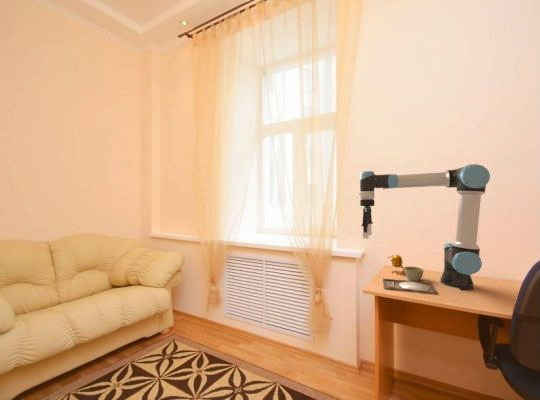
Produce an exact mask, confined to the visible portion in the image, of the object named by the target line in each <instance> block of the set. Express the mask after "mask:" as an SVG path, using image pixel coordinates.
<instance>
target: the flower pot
mask: <svg viewBox="0 0 540 400" xmlns="http://www.w3.org/2000/svg"><path fill="white" fill-rule="evenodd" d="M403 267H404V266H403ZM404 271H405V274H406V275H405V276H406V278H407V281H417V282H420V280H421V279H422V277H423V275H424V269H423V268H421V267H418V266H417V267H416V266H405V267H404Z"/></svg>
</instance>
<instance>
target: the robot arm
mask: <svg viewBox="0 0 540 400" xmlns="http://www.w3.org/2000/svg"><path fill="white" fill-rule="evenodd" d="M359 174H360V175H359V183H360V184H359V192H360V193H358V195H359V196H360V197H359V198H360V200H359V204H360V205H359V206H361V207H362V209H363V210H362V211H363V212H362V224H361V227H362V239H367V240H368V239H369V236H372V228H373V227H372V224H374V223H373V220H372V207H374V206H375V189H382V190H387V189H402V188H403V189H405V188H406V189H407V188H408V189H409V188H427V187H429V188H430V187H445V188H456V193H458V194H459V200H458V210H457V211H458V213H457V221H456V222H457V223H456V234H455V241H454V242H453V243H451V242H450V243H449V242H447V243H444V247H443V249H444V251H443V252H444V253H443V254H444V255H443V256H444V257H443V258H444V259H443V261H444V262H443V265H444V266H443V267H444V268H443V272H442V274H441V276H440V281H439V282H440V283H441V284H442V285H445V286H447V287H450V288H456V289H459V290H468V291H469V290H473V289H474V286H475V285H474V281H473V279H472V276H471V275H474V274H476V273H479V271H480V270H481V269H482V265H483V262H482V259H481V257H480V253H481V251H480V250H481V247H479V245H478V244H477V241H478V233H479V219H480V211H481V209H480V208H481V201H482V200H481V199H482V195H484V194H486V188H487V187H486V186H487V184H488V183H489V182H490V179H491V173H490V171H489V170H488V168H486V167H485V166H484V165H481V164H468V165H465V166H463V167H459V168H455V169H447V170H445V171H443V172H430V173H429V172H428V173H425V172H424V173H412V174H394V173H389V174H388V173H387V174H375V172H374V171H370V170H367V171H366V170H365V171H361V172H360V173H359Z"/></svg>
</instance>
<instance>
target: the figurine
mask: <svg viewBox="0 0 540 400" xmlns="http://www.w3.org/2000/svg"><path fill="white" fill-rule="evenodd" d="M390 258H392V259H390ZM387 259H390V262H391V266H393V267H394V268H401V269H402V271H401V270H400V271H399V270H392V271H391V274H392V275H396V276H397V275H399V276H406V274H405V270H404V266H403V259H402V256H401V255H399V254H391V255H390V256H388V257H387Z"/></svg>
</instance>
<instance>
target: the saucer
mask: <svg viewBox="0 0 540 400" xmlns="http://www.w3.org/2000/svg"><path fill="white" fill-rule="evenodd" d="M399 286H400V287H401V288H403V289H413V290H423V291H429V287H428V286H426V285H424V284H421V283H416V282H402V283H400V284H399Z"/></svg>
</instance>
